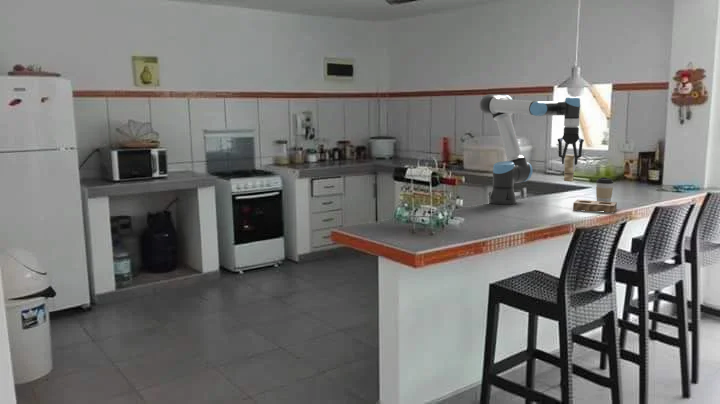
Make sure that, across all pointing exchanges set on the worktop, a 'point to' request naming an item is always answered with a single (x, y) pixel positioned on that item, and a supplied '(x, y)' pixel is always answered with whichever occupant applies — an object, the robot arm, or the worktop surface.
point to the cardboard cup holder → (594, 205)
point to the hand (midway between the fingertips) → (569, 170)
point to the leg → (568, 168)
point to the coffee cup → (604, 189)
